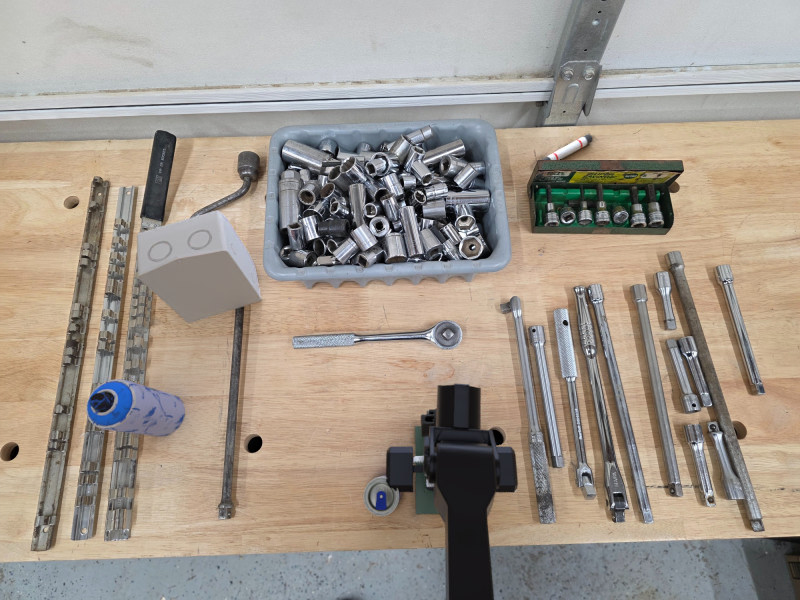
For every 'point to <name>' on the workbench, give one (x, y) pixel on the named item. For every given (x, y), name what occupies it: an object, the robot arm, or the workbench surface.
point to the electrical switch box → (198, 266)
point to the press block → (422, 481)
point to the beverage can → (380, 497)
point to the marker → (570, 148)
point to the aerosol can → (134, 409)
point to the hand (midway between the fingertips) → (446, 468)
